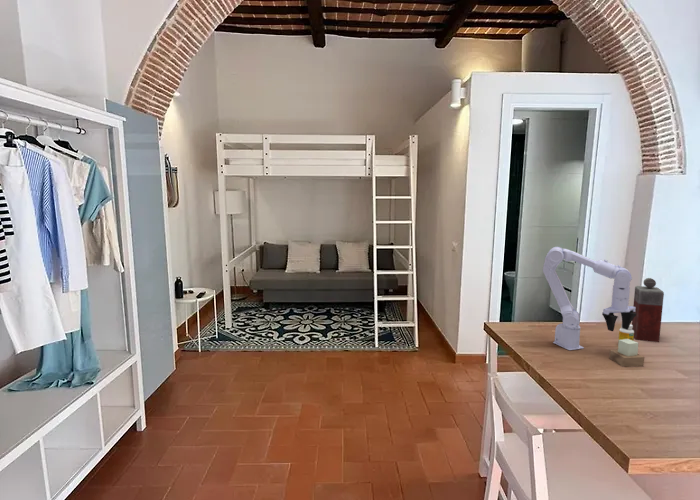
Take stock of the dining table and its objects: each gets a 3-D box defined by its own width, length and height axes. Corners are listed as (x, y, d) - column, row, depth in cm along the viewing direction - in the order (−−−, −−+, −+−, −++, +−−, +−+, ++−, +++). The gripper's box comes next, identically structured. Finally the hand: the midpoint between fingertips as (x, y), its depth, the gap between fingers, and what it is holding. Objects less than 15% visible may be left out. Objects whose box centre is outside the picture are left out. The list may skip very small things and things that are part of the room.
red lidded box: (652, 334, 188) (657, 276, 184) (659, 342, 178) (665, 281, 174) (629, 332, 191) (634, 274, 188) (635, 339, 181) (640, 279, 178)
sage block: (617, 352, 158) (618, 340, 157) (626, 350, 159) (627, 338, 158) (628, 356, 153) (629, 344, 153) (637, 355, 155) (638, 342, 154)
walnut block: (609, 359, 161) (609, 349, 160) (628, 358, 161) (629, 349, 160) (623, 367, 153) (624, 357, 152) (643, 367, 153) (644, 357, 152)
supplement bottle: (621, 342, 178) (623, 321, 177) (635, 346, 173) (637, 325, 172) (615, 345, 175) (617, 324, 174) (629, 348, 170) (631, 327, 169)
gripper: (615, 301, 157) (612, 334, 158) (643, 298, 160) (640, 331, 162) (599, 297, 163) (597, 328, 165) (627, 294, 167) (624, 325, 169)
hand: (617, 329), depth 164 cm, fingers open, 7 cm apart
